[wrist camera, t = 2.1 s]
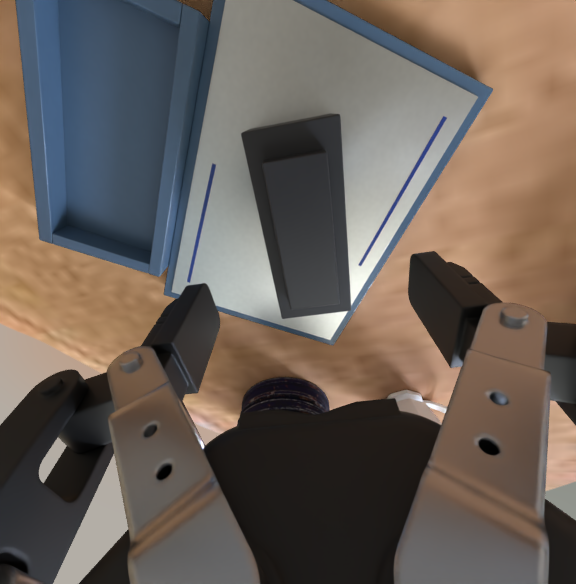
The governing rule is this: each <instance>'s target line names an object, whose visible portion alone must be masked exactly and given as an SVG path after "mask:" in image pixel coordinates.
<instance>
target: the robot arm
mask: <svg viewBox="0 0 576 584" xmlns="http://www.w3.org/2000/svg"><path fill="white" fill-rule="evenodd" d="M408 295H409V300H410V303H411V305H412V307H413V309H414V310H415V312H416V313H417V315H418V317H419V318H420V320H421V321H422V323H423V324H424V326H425V328H426V329H427V331H428V332H429V334H430V336H431V337H432V339H433V340H434V342H435V344H436V345H437V347H438V348H439V350H440V352H441V353H442V355H443V356H444V358H445V360H446V361H447V363H448V364H449V366H450V368H453V367H461V370H460V373H459V376H458V379H457V381H456V384H455V387H454V390H453V393H452V396H451V399H450V402H449V405H448V407H447V410H446V413H445V416H444V419H443V422H442V425H440V424H438V423H436V422H434V421H432V420H430V419H428V418H425V417H423V416H420V415H417V414H413V413H409V412H404V411H400V410H399V407H398V405H397V402H396V399H395V398H391V399H381V400H370V401H360V402H354V403H351V404H348V405H345V406H342V407H339V408H336V409H333V410H330V411H327V412H324V413H322V414H317V415H313V414H306V413H299V412H292V411H285V410H279V409H275V410H265V411H254V412H244V413H241V415H240V421H239V426H236V427H234V428H232V429H229V430H227V431H225V432H224V433H222V434H220V435H219V436H217V437H216V438H214V439H213V440H212V441H210V442H209V443H208V444H207V445H206V446H205V444H204V442H203V440H202V438H201V436H200V434H199V432H198V430H197V428H196V426H195V424H194V422H193V420H192V418H191V417H190V415H189V413H188V411H187V409H186V407H185V405H184V403H183V398H184V395H185V394H192V393H198V391H199V388H200V385H201V382H202V379H203V376H204V373H205V370H206V367H207V364H208V361H209V358H210V355H211V352H212V349H213V346H214V343H215V340H216V337H217V334H218V331H219V328H220V318H219V314H218V311H217V308H216V305H215V302H214V300H213V297H212V294H211V291H210V289H209V287H208V285H207V284H206V283H201V284H194V285H188V286H186V287H185V289H184V290H183V292H182V293H181V295H180V297H179V298H178V299H175V300H174V301H173V302H172V303H170V304H169V305H168V306H167V307H166V308H165V310H164V311H163V313H162V314H161V317H159V319H158V320H157V322H156V324H155V325H154V327H153V328H152V330H151V331H150V333H149V334H148V336H147V337H146V339H145V340H144V342H143V344H142V345H141V346H140V347H136V348H133V349H130V350H128V351H126V352H124V353H122V354H121V355H119V356H118V357H117V358H116V359H115V360H114V361H113V362H112V363H111V364H110V365H109V367H108V369H107V372H106V373H103V374H100V375H97V376H94V377H91V378H88V379H86V380H84V379H83V378H82V376H81V375H80V374H79V372H78V371H76V370H65V371H61V372H58V373H56V374H54V375H52V376H50V377H48V378H46V379H45V380H43V381H42V382H40V383H39V384H38V385H36V386H35V387H34V388H33V389H32V390H31V391H30V392H29V393H28V394H27V396H26V397H25V398H24V399H23V400H22V401H21V402H20V403H19V405H18V406H17V407H16V408H15V409H14V410H13V412H12V413H11V414H10V415H9V416H8V417H7V418H6V419H5V421H4V422H3V423H2V424H1V425H0V584H53V582H54V580H55V578H56V576H57V574H58V571H59V569H60V567H61V565H62V563H63V561H64V558H65V556H66V554H67V552H68V550H69V548H70V546H71V544H72V541H73V539H74V537H75V535H76V533H77V531H78V529H79V527H80V525H81V522H82V520H83V518H84V516H85V514H86V512H87V510H88V507H89V505H90V503H91V501H92V499H93V497H94V495H95V493H96V490H97V488H98V486H99V484H100V482H101V480H102V478H103V476H104V473H105V471H106V469H107V467H108V465H109V463H110V460H111V458H112V456H113V454H115V459H116V465H117V470H118V475H119V481H120V486H121V491H122V496H123V502H124V508H125V513H126V518H127V523H128V528H129V529H128V530H127V531H126V532H125V534H124V535H123V536H122V537H121V538H120V539H119V540H118V541H117V543H115V545H114V546H113V547H112V548H111V549H110V550H109V551H108V552H107V553H106V554H105V556H104V557H103V558H102V559H101V560H100V561H99V562H98V563H97V564H96V565H95V566H94V568H93V569H92V570H91V571H90V572H89V573H88V574H87V575H86V576H85V577H84V578H83V580H82V581H81V582H80V583H79V584H576V520H574V519H573V518H571V517H570V516H568V515H567V514H566V513H564V512H563V511H562V510H560V509H559V508H557V507H556V506H555V505H553V504H552V503H550V502H549V501H548V500H546V499H545V487H546V468H547V448H548V429H549V410H550V400H553V401H556V402H557V403H558V405H559V406H560V407H561V408H562V409H563V411H564V412H565V413H566V414H567V415H568V417H569V418H570V419H571V420H572V421H573V423H574V424H575V425H576V324H567V323H554V322H547V321H546V319H545V318H544V316H543V315H541V314H540V313H539V312H537V311H535V310H534V309H532V308H529V307H526V306H523V305H519V304H515V303H503V302H502V301H501V300H500V299H499V298H497V297H496V296H495V295H494V294H493V293H492V292H491V291H490V290H488V289H487V288H486V287H485V286H484V285H483V284H482V283H480V282H479V281H478V280H477V279H476V278H475V277H473V276H472V274H471V273H469V272H468V271H467V270H466V269H465V268H464V267H461V266H459V265H457V264H454V263H452V262H447V263H446V262H445V261H444V260H443V259H442V258H441V257H440V256H439V255H438V254H437V253H436V252H434V251H432V252H424V253H417V254H412V256H411V259H410V271H409V286H408ZM57 437H59V438H60V439H61V440H62V441H63V442H64V443H65V444H66V445H67V447H66V449H65V450H64V452H63V453H62V455H61V457H60V458H59V460H58V461H57V463H56V464H55V466H54V468H53V469H52V471H51V473H50V474H49V476H48V477H47V479H46V481H45V482H44V484H43V483H42V482H41V481H40V479H39V467H40V464H41V462H42V460H43V458H44V457H45V455H46V454H47V452H48V451H49V449H50V448H51V446H52V445H53V443H54V442H55V440H56V439H57Z"/></svg>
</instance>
